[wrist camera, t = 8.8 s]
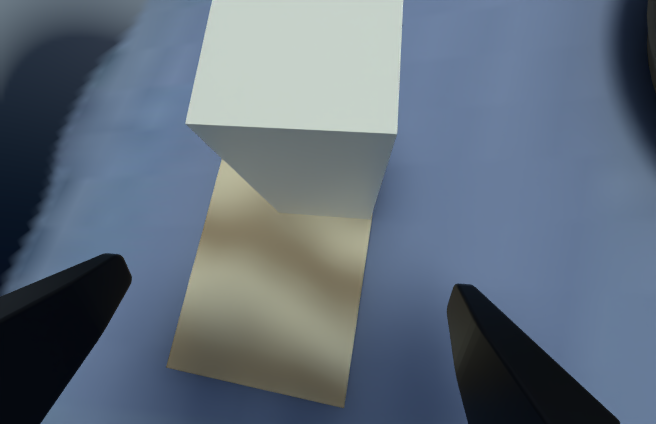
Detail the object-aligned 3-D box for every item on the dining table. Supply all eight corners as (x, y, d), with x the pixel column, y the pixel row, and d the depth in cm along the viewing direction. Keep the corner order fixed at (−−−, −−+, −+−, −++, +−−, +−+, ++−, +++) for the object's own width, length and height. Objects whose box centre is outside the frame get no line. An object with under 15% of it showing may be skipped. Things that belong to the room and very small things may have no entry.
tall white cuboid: (370, 219, 18) (397, 133, 7) (279, 212, 18) (185, 123, 8) (374, 149, 18) (403, -14, 8) (288, 144, 19) (215, -14, 9)
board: (344, 403, 16) (344, 408, 15) (172, 364, 17) (166, 367, 17) (379, 162, 19) (380, 158, 18) (231, 142, 20) (227, 138, 19)
